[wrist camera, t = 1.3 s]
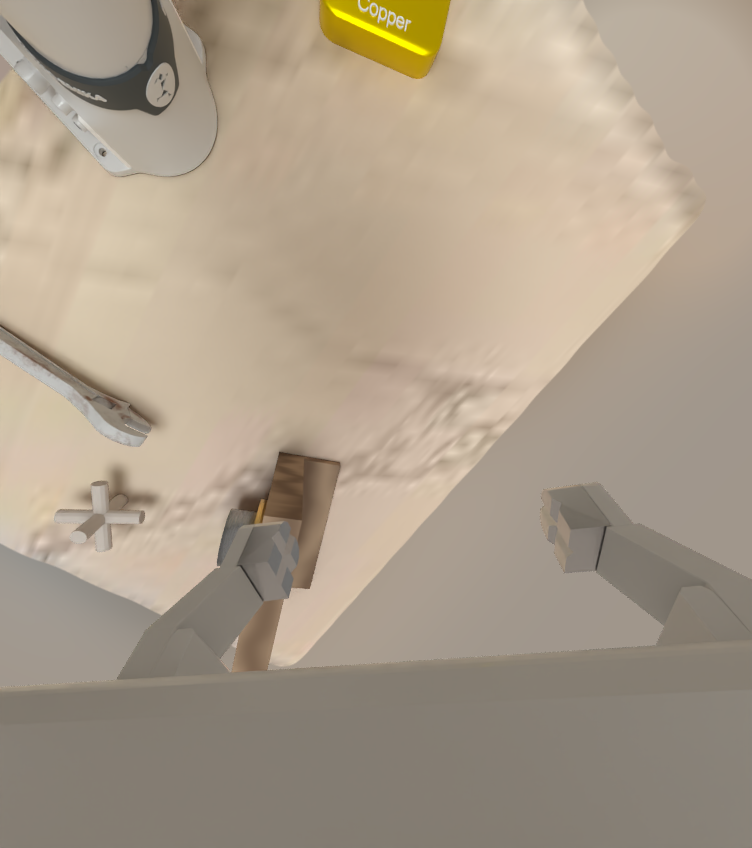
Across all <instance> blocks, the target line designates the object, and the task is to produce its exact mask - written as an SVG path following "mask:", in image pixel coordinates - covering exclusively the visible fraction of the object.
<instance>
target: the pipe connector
mask: <svg viewBox="0 0 752 848" xmlns="http://www.w3.org/2000/svg"><path fill="white" fill-rule="evenodd" d="M91 495H92V507H93V510H73V509H60V510H58V511H57V512H56V513H55V516H54V521H55V523H83V524H82V525H81V526H79V527H78V528H77V529H76V530H75V531H73V532H72V533H71V534H70V540H71V541H72V542H73V543H76V544H82V543H84V542H85V541H86V540H87V539H88V538H90V537H91V536H92V535H93V534H94V533H95V545H96V551H97V552H105V551H108V550H110V549H111V548H112V533H111V524H141V523H142V522H143V521H144V518H145V512H144V511H139V510H120V509H121V508H122V507H123V506H124V505H125V504H126V503H127V502H128V498H127V497H126V496H125V495H122V494H119V495H117V496H115V497H114V498H113V499H112V500H110V501H109V488H108V482H107V481H96V482H93V483H92V484H91Z"/></svg>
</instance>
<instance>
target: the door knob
mask: <svg viewBox="0 0 752 848" xmlns="http://www.w3.org/2000/svg"><path fill="white" fill-rule="evenodd" d="M267 501H268V500H265V499H261V500H260V504H259V507H258V511H257V512H253V511H245V510H238V509H231V511H230V513H229V516H228V518H227V521H226V524H225V528H224V531H223V535H222V539H221V543H220V548H219V553H218V559H217V566H221V564H222V562H223V560H224V558H225V556H226V554H227V552H228V550H229V548H230V546H231V544H232V542H233V540H234V538H235V536H236V534H237V532H238V530H239V528H240V527H242V526H243V525H252V524H259V523H262V522H263V517H264V513H265V509H266V505H267Z"/></svg>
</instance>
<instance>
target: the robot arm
mask: <svg viewBox="0 0 752 848" xmlns="http://www.w3.org/2000/svg"><path fill="white" fill-rule="evenodd" d="M0 54H1V56H2V57H3V58H4V59H5V60H6V61H7V62H8V63H9V65H10V66H11V67H12V68H13V69H14V70H15V71H16V72H17V73H18V74H19V76H20V77H21V78H22V79H23V80H24V81H25V82H26V83H27V84H28V85H29V86H30V88H31V89H32V90H33V91H34V92H35V93H36V94H37V95H38V96H39V97H40V99H41V100H42V101H43V102H44V103H45V104H46V105H47V106H48V107H49V108H50V110H51V111H52V112H53V113H54V114H55V115H56V116H57V117H58V118H59V119H60V121H61V122H62V123H63V124H64V125H65V126H66V127H67V128H68V129H69V130H70V131H71V133H72V134H73V135H74V136H75V137H76V138H77V139H78V140H79V141H80V142H81V144H82V145H83V146H84V147H85V148H86V149H87V150H88V151H89V152H90V153H91V155H92V156H93V157H94V158H95V159H96V160H97V161H98V162H99V163H100V164H101V166H102V167H103V168H104V169H105V170H106V171H107V172H108V173H109V174H111V175H113V176H118V177H120V176H127V175H131V174H135V173H146V174H151V175H156V176H177V175H181V174H185V173H187V172H189V171H191V170H193V169H195V168H196V167H197V166H199V165H200V164H201V163H202V162H203V161H204V160H205V159H206V157H207V156H208V154H209V153H210V151H211V149H212V147H213V144H214V141H215V137H216V132H217V111H216V105H215V101H214V98H213V94H212V92H211V89H210V86H209V83H208V80H207V76H206V54H205V48H204V45H203V43H202V41H201V39H200V38H199V36H198V35H197V34H196V33H195V32H194V31H193V30H191V29H190V28H189V27H187V26H186V25H185V24H183V23H182V20H181V18H180V16H179V14H178V12H177V10H176V8H175V6H174V4H173V2H172V1H171V0H0ZM104 151H107V155H106V156H104V157H103V156H102V153H103V152H104ZM541 499H542V501H543V503H544V506H543V507H542V508H541V509H540V520H541V526H542V529H543V531H544V534H545V536H546V538H547V540H548V541H549V542H551V543H552V544H554V545H555V549H554V554H555V556H556V558H557V560H558V561H559V564H560V565H561V567H562V569H563V571H564V573H572V572H586V571H596V572H597V573H598V574H599V575H600V576H601V577H603V578H604V579H605V580H606V581H608V582H609V583H610V584H612V585H613V586H614V587H615V588H617V589H618V590H619V591H620V592H622V593H623V594H624V595H626V596H627V597H628V598H629V599H631V600H632V601H633V602H634V603H636V604H637V605H638V606H640V607H641V608H642V609H643V610H645V611H646V612H647V613H648V614H650V615H651V616H652V617H654V618H655V619H656V620H657V621H659V622H660V623H661V624H663V625H664V628H663V630H662V632H661V634H660V637H659V639H658V641H657V643H656V645H654V646H638V647H623V648H608V649H593V650H577V651H561V652H545V653H530V654H513V655H498V656H482V657H466V658H450V659H434V660H419V661H403V662H389V663H373V664H358V665H342V666H326V667H311V668H295V669H279V670H264V671H248V672H232V673H231V672H230V670H229V668H228V667H227V666H226V665H225V664H224V663H223V662H222V661H221V660H220V659H221V657H222V656H223V655H224V653H225V652H226V651H227V650H228V648H229V647H230V646H231V644H232V643H233V642H234V641H235V639H236V638H237V637H238V635H239V634H240V633H241V631H242V630H243V629H244V628H245V626H246V625H247V624H248V622H249V621H250V620H251V619H252V617H253V616H254V615H255V613H256V612H257V611H258V609H259V608H260V607H261V606H262V604H263V601H270V600H279V599H287V598H289V595H290V591H291V587H292V583H293V580H294V578H293V576H292V574H291V572H292V571H293V570H294V569H295V568H296V567H297V564H298V560H299V546H298V542H297V540H296V538H295V537H294V536H292V535H291V534H290V530H291V527H290V526H289V524H288V522H286V521H280V522H270V523H259V524H252V525H243V526H242V527H240V528H239V530H238V532H237V534H236V536H235V538H234V540H233V542H232V544H231V546H230V548H229V550H228V552H227V554H226V556H225V558H224V560H223V562H222V564H221V567H220V568H216V569H214V570H213V571H212V572H211V573H210V574H209V575H208V576H207V577H205V578H204V579H203V580H202V581H201V582H200V583H199V584H197V585H196V586H195V587H194V588H193V589H192V590H191V591H190V592H188V593H187V594H186V595H185V596H184V597H183V598H182V599H180V600H179V601H178V602H177V603H176V604H175V605H174V606H173V607H171V608H170V609H169V610H168V611H167V612H166V613H165V614H163V615H162V616H161V617H160V618H159V619H158V620H157V621H156V622H154V623H153V624H152V625H151V626H150V627H149V628H148V629H146V631H145V632H144V634H143V635H142V637H141V639H140V641H139V642H138V644H137V646H136V647H135V649H134V651H133V652H132V654H131V656H130V657H129V659H128V661H127V662H126V664H125V666H124V667H123V669H122V671H121V672H120V674H119V676H118V677H117V680H107V681H92V682H75V683H59V684H43V685H27V686H11V687H10V686H9V687H0V848H752V579H750V578H748V577H746V576H743V575H742V574H739V573H737V572H736V571H733V570H732V569H729V568H727V567H726V566H724V565H721V564H719V563H717V562H716V561H714V560H711V559H710V558H707V557H706V556H704V555H702V554H700V553H697V552H696V551H694V550H692V549H690V548H688V547H686V546H684V545H682V544H680V543H678V542H676V541H674V540H672V539H670V538H668V537H666V536H664V535H662V534H660V533H658V532H656V531H654V530H652V529H650V528H648V527H646V526H644V525H642V524H634V523H633V522H632V521H631V520H630V519H629V517H628V516H627V515H626V514H625V513H624V512H623V510H622V509H621V508H620V507H619V506H618V504H617V503H616V502H615V501H614V499H613V498H612V497H611V496H610V495H609V494H608V492H607V491H606V490H605V489H604V488H603V486H602V485H601V484H600V483H598V482H593V483H585V484H579V485H570V486H563V487H556V488H548V489H543V491H542V494H541Z"/></svg>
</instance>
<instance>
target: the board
mask: <svg viewBox="0 0 752 848" xmlns="http://www.w3.org/2000/svg"><path fill="white" fill-rule="evenodd" d="M339 470H340V463H339V462H333V461H327V460H322V459H316V458H310V457H305V456H299V455H293V454H287V453H282V452H279V456H278V460H277V464H276V468H275V472H274V476H273V480H272V485H271V489H270V493H269V497H268V501H267V505H266V509H265V513H264V517H263V522H262V523H270V522H280V521H286V522H288V524H289V526H290V527H291V530H290V534H291V535H292V536H294V537H295V538H296V540H297V542H298V546H299V560H298V564H297V567H296V568H295V569H294V570H293V571H292V572H291V574H292V576H293V578H294V580H293V583H292V587H291V588H304V589H310V586H311V582H312V578H313V574H314V570H315V566H316V562H317V558H318V554H319V550H320V546H321V542H322V538H323V534H324V530H325V526H326V522H327V518H328V514H329V510H330V506H331V502H332V498H333V494H334V490H335V486H336V482H337V478H338V474H339ZM283 600H284V599H279V600H270V601H263V604H262V606H261V607H260V608H259V609H258V611H257V612H256V613H255V615H254V616H253V617H252V619H251V620H250V621H249V622H248V624H247V625H246V626H245V628H244V629H243V630H242V631H241V633H240V634H239V638H238V643H237V648H236V653H235V658H234V663H233V667H232V672H248V671H264V670H267V669H268V665H269V660H270V656H271V652H272V647H273V643H274V639H275V635H276V630H277V626H278V622H279V617H280V613H281V609H282V605H283ZM232 672H231V673H232Z"/></svg>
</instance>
